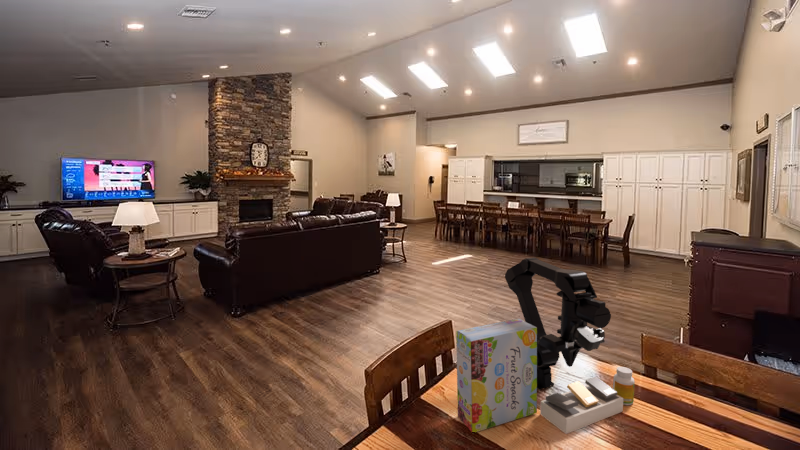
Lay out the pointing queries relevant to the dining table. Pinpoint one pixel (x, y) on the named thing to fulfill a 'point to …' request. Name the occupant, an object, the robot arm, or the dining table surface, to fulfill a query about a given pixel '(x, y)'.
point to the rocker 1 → (562, 401)
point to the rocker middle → (582, 393)
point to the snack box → (496, 373)
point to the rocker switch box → (581, 411)
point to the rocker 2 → (601, 387)
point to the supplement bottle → (624, 385)
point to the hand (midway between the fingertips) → (569, 365)
